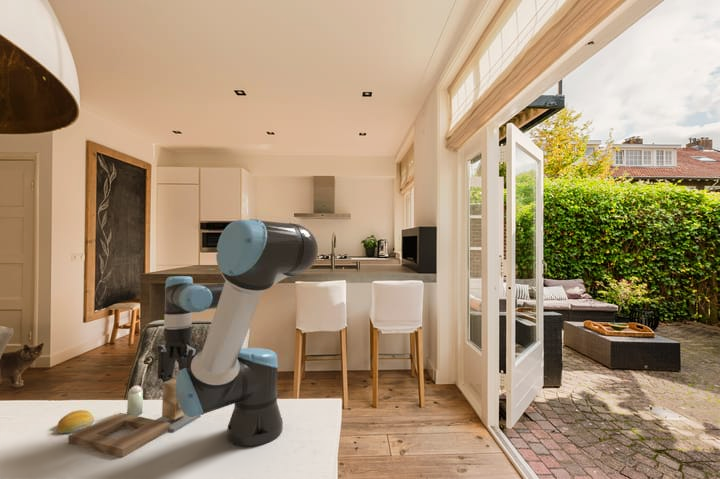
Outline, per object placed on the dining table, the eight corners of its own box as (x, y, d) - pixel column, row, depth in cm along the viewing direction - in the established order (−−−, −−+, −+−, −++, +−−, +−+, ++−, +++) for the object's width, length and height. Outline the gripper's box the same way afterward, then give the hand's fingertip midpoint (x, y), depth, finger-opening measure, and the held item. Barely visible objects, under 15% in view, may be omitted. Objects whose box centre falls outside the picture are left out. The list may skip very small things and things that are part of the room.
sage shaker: (145, 412, 108) (146, 384, 109) (133, 418, 104) (134, 389, 105) (136, 410, 109) (137, 382, 110) (123, 416, 106) (125, 387, 106)
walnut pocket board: (170, 430, 97) (170, 423, 97) (122, 457, 84) (122, 449, 84) (119, 419, 103) (120, 412, 104) (68, 443, 90) (68, 435, 90)
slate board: (200, 416, 106) (200, 413, 106) (173, 432, 96) (174, 429, 96) (175, 411, 109) (176, 409, 109) (147, 426, 99) (147, 423, 99)
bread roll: (57, 438, 93) (57, 423, 93) (57, 425, 100) (58, 412, 100) (95, 428, 99) (95, 414, 99) (92, 417, 105) (93, 404, 106)
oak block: (188, 412, 104) (189, 379, 105) (174, 419, 99) (176, 385, 100) (175, 410, 106) (176, 377, 106) (162, 417, 101) (163, 383, 101)
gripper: (210, 326, 105) (208, 403, 103) (166, 322, 110) (163, 395, 109) (191, 331, 97) (189, 413, 96) (145, 327, 103) (142, 404, 102)
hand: (175, 403), depth 103 cm, fingers closed on oak block, 5 cm apart
